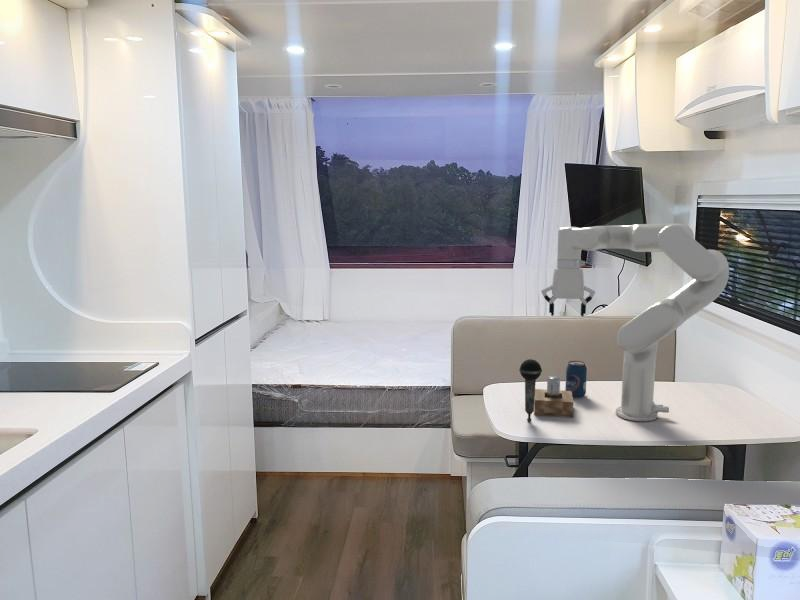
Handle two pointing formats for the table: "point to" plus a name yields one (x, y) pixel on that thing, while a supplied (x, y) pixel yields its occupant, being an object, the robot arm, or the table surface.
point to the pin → (553, 387)
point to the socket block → (553, 404)
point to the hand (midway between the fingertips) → (567, 315)
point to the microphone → (530, 383)
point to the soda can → (576, 378)
